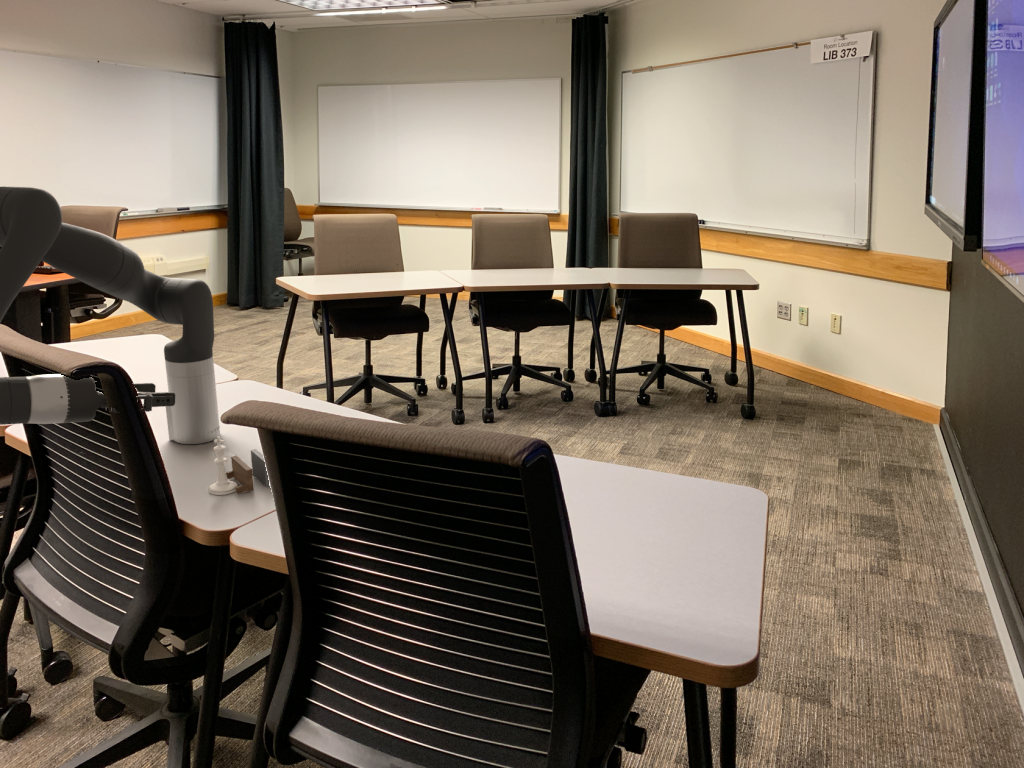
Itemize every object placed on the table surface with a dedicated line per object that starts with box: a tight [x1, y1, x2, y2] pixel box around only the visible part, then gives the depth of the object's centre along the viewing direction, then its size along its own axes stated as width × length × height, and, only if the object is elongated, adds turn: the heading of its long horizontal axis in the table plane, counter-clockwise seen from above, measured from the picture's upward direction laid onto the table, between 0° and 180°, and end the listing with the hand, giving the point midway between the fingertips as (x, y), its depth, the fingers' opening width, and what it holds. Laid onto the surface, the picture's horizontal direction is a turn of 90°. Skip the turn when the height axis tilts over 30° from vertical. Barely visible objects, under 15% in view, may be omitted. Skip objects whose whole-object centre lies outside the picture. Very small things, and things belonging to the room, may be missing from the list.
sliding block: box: [226, 455, 255, 495], centre depth 158 cm, size 3×8×4 cm, turn 35°
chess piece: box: [208, 435, 238, 496], centre depth 156 cm, size 5×5×10 cm
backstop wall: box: [250, 448, 270, 488], centre depth 160 cm, size 1×7×5 cm, turn 36°
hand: (164, 394), depth 146 cm, fingers open, 8 cm apart
